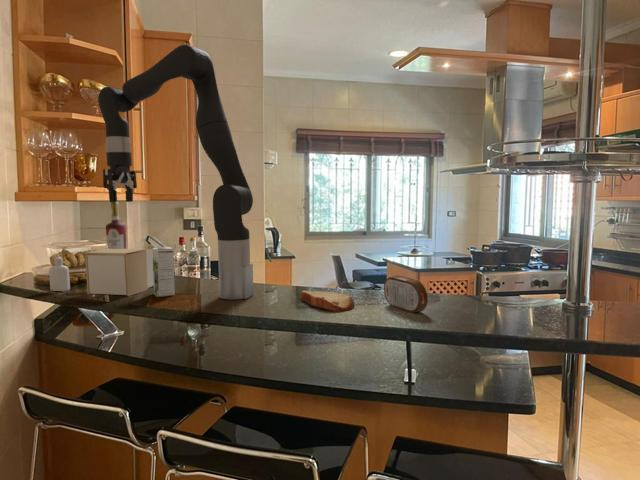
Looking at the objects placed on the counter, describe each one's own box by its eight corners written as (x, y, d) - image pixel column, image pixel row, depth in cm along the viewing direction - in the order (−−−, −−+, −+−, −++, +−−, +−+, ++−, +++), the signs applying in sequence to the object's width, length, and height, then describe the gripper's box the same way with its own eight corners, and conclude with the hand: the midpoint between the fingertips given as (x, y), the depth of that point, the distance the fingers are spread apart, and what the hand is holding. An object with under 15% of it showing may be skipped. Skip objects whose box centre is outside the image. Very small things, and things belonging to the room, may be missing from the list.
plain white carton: (157, 284, 163) (156, 249, 161) (126, 295, 146) (124, 255, 145) (124, 283, 166) (122, 248, 164) (89, 293, 149) (87, 255, 148)
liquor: (131, 272, 191) (127, 201, 188) (124, 275, 183) (121, 202, 180) (112, 272, 190) (108, 201, 187) (105, 276, 183) (101, 202, 180)
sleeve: (147, 289, 156) (145, 249, 154) (128, 296, 146) (126, 253, 145) (108, 288, 159) (106, 248, 158) (87, 294, 149) (85, 252, 148)
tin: (428, 314, 120) (428, 281, 119) (418, 316, 118) (419, 282, 117) (391, 303, 133) (391, 273, 132) (381, 304, 131) (381, 274, 130)
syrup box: (153, 293, 149) (151, 247, 147) (173, 292, 151) (171, 246, 150) (155, 297, 144) (153, 249, 142) (175, 295, 146) (173, 248, 145)
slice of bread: (303, 296, 145) (302, 284, 144) (362, 299, 140) (362, 286, 139) (282, 310, 127) (282, 296, 127) (349, 314, 123) (349, 300, 122)
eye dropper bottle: (61, 289, 159) (59, 252, 157) (72, 290, 156) (69, 253, 155) (48, 291, 155) (46, 254, 154) (59, 293, 152) (56, 255, 151)
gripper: (115, 149, 148) (118, 202, 149) (141, 153, 162) (144, 201, 163) (93, 150, 149) (97, 202, 151) (122, 153, 163) (124, 201, 165)
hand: (121, 201), depth 157 cm, fingers open, 8 cm apart
